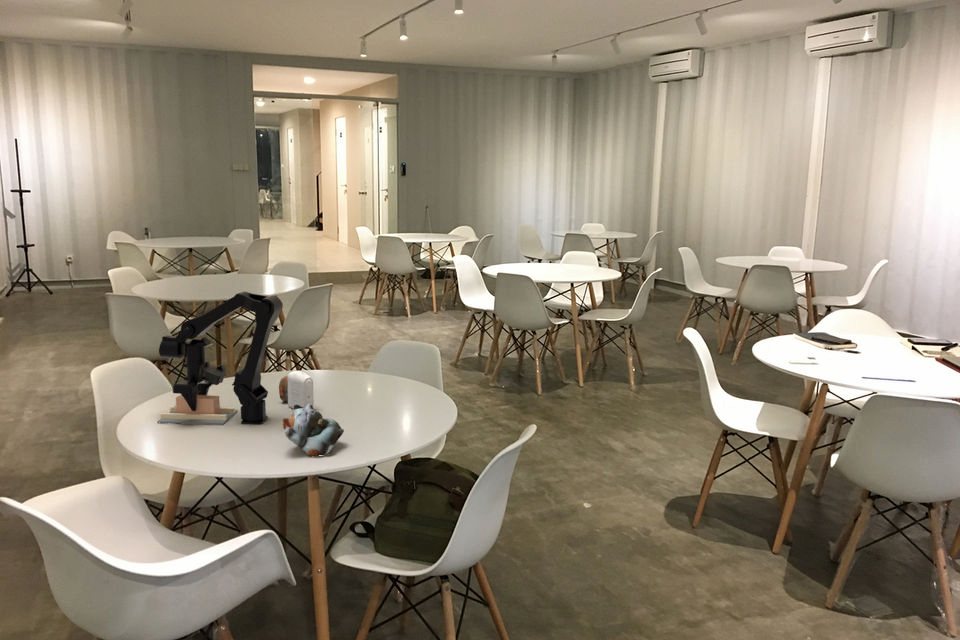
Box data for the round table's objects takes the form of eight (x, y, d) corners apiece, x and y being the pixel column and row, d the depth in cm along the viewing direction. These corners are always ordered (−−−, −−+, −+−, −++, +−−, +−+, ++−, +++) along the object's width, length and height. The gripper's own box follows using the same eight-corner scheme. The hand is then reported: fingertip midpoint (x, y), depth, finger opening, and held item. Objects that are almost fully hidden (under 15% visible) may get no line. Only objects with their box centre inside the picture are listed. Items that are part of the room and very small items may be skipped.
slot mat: (237, 411, 242) (237, 405, 242) (223, 424, 229) (223, 418, 229) (175, 410, 242) (174, 403, 242) (157, 423, 230) (156, 416, 229)
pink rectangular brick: (183, 412, 238) (182, 394, 237) (220, 414, 237) (219, 395, 236) (176, 416, 234) (175, 397, 233) (214, 418, 233) (213, 399, 232)
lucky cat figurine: (323, 460, 202) (296, 417, 199) (292, 469, 208) (265, 427, 205) (352, 429, 214) (327, 388, 211) (322, 437, 221) (297, 398, 217)
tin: (286, 404, 251) (285, 380, 249) (277, 404, 251) (276, 379, 250) (305, 392, 265) (305, 369, 264) (297, 391, 266) (296, 368, 264)
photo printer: (315, 411, 244) (314, 373, 242) (304, 414, 241) (303, 376, 239) (297, 404, 251) (296, 367, 249) (286, 406, 248) (285, 370, 246)
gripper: (206, 367, 222) (208, 419, 225) (234, 353, 241) (236, 401, 243) (170, 366, 224) (173, 417, 227) (200, 351, 242) (203, 399, 245)
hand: (198, 408), depth 235 cm, fingers open, 5 cm apart
